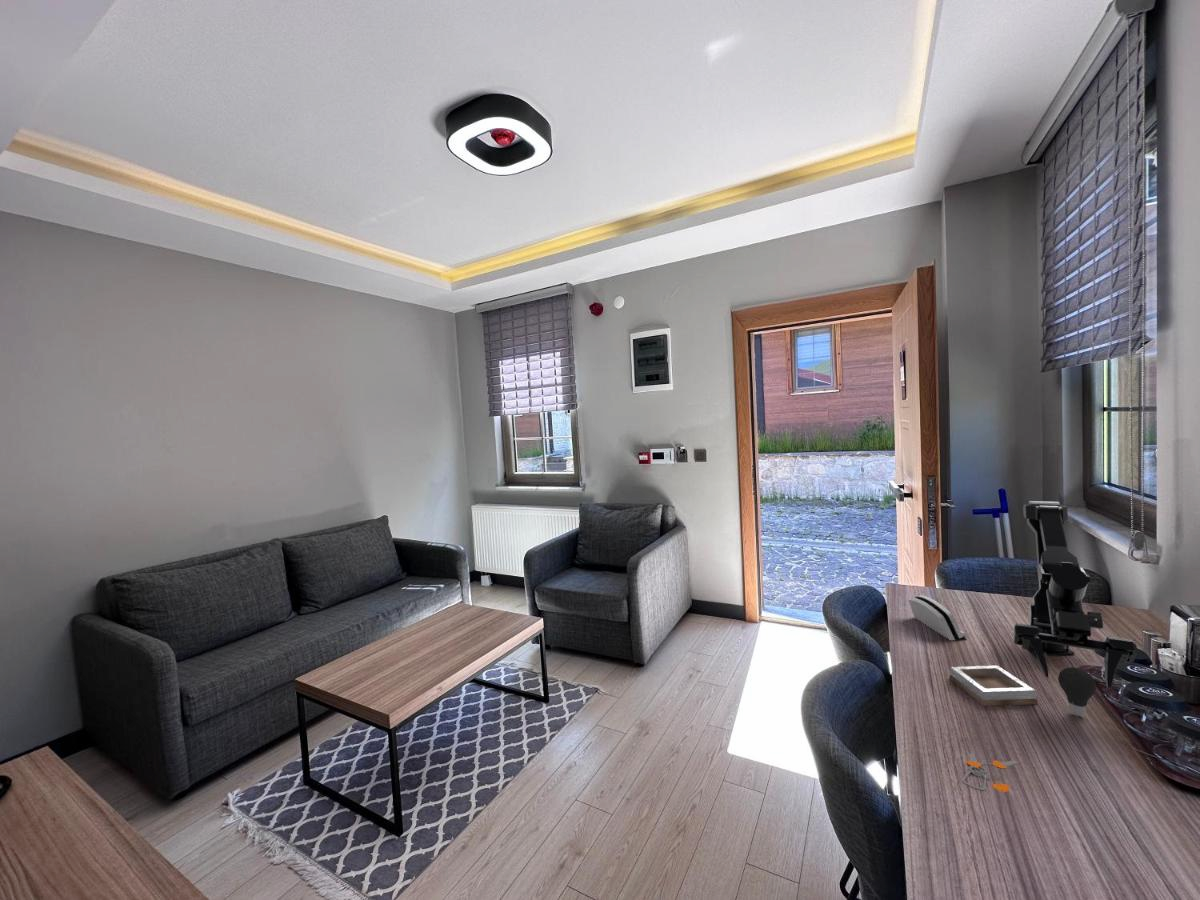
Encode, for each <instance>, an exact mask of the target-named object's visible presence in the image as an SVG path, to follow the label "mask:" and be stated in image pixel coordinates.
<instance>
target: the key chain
mask: <svg viewBox="0 0 1200 900" xmlns="http://www.w3.org/2000/svg"><path fill="white" fill-rule="evenodd" d="M967 757H968V758H969V759H968V760H966V764H967V765H968V766H969V767H968V771H967V773H965V775H964V776H963V777H962V778H961V782H962V783H963V784H965V785H967V786H968V787H971V788H974V789H976V790H980V791H984V792H985V791H986V790H987V788H986V784H987V779H988V781H991V778H990V777H988V776H987V775H986V773H987V772H988V771H987V769H986V768H985V767H983V766H985V765H991V766H994V767H996V768H998V767H999V769H1001V768H1002V769H1003V768H1004V769H1003V770H1005V768H1006V769H1007V768H1008V767H1009V766H1011V767H1012V766H1015V765H1018V764H1019V762H1018V761H1017V760H1009V761H999V760H994V759H993V761H992V763H991V762H985V763H984V762H983V763H980V762H978V761H977V760H976V756H975V753H973V752H969V755H968V756H967ZM981 768H982V769H981ZM971 774H973V775H974V776H976V777H979V778H982V779H983V778H984V779H983V780H984V781H983V787H978V786H975V785H972V784H970V783H968V782H966V779H967V778H968V777H969V776H970V775H971ZM993 783H994V782H993ZM993 783H992V784H993ZM992 784H991V785H992ZM991 785H990V786H991ZM999 785H1001V786H999ZM1007 785H1008V784H1006V783H1005V784H1002V783H1000V784H998V785H997V783H996V784H994V785H993V787H992V788H993V789H995V790H997V791H999V792H1002V793H1003V792H1005V793H1006V792H1010V791H1011V788H1010V787H1009V785H1008V786H1007Z"/></svg>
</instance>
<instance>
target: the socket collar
mask: <svg viewBox="0 0 1200 900" xmlns="http://www.w3.org/2000/svg"><path fill="white" fill-rule="evenodd" d="M950 675H951V676H953V677H954V678H955V679H956V680H958V681H959V682H960V683H962V684H963V685H964V686H965V687H967V688H968V689H969V690H971V691H972V692H973V693H974V694H976V695H977V696H978V697H980V698H981V699H982V700H983V701H989V700H1022V699H1035V698H1036V689H1034V688H1032V687H1031V686H1030V685H1028V684H1027V683H1025V682H1024V681H1022V680H1021V679H1019V678H1017V677H1016V676H1015V675H1013V674H1011V673H1010V672H1008V671H1006V670H1005V669H1003V668H1002V667H1001V666H999V665H975V666H974V665H973V666H970V665H967V666H950ZM991 676H996V677H998V678H999V679H1001V680H1002V681H1004V682H1005V683H1007V684H1008V685H1010V686H1011V687H1012V688H990V689H985V688H984V687H982V686H981V685H979V684H978V683H977V682H975V681H974V680H973V679H971V678H970V677H991Z"/></svg>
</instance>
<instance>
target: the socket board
mask: <svg viewBox="0 0 1200 900" xmlns="http://www.w3.org/2000/svg"><path fill="white" fill-rule="evenodd" d="M970 678H971V679H973V680H974V681H975V682H977V683H978V684H979V685H981V686H982V687H984V688H985V689H990V688H1012V687H1011V686H1010V685H1008V684H1007V683H1005V682H1004V681H1002V680H1001V679H999V678H998V677H996V676H991V677H970ZM949 680H951V681H952V682H953V683H954V684H955V685H957V686H958V687H959V688H960V689H962V690H963V691H964V692H966V693H967V694H968V695H969V696H971V697H972V698H973V699H974V700H976V701H977V702H978V703H979V704H980V705H982V706H985V707H987V706H1015V705H1019V706H1020V705H1021V706H1022V705H1037V704H1038V699H1037V698H1036V697H1035V699H1022V700H989V701H983V700H982V699H981V698H980V697H978V696H977V695H976V694H974V693H973V692H972V691H971V690H969V689H968V688H967V687H965V686H964V685H963V684H962V683H960V682H959V681H958V680H956V679H955V678H954V677H953V676H951V674H949Z"/></svg>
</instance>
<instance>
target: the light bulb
mask: <svg viewBox="0 0 1200 900" xmlns="http://www.w3.org/2000/svg"><path fill="white" fill-rule="evenodd" d="M1057 679H1058V684H1059V686H1060V687H1061V689H1062V690H1063V692H1064V693H1065V695H1066V699H1067V702H1068V710H1069V713H1072V714H1073V715H1074V716H1075V717H1077V718H1080V717H1083V716H1085V715H1086V714H1087V713H1086V712H1087V710H1086V707H1087V705H1088V703H1089V702H1088V701H1089V700H1090V699H1091V698H1092V697H1093V696H1094V695H1095V693H1096V690H1097V685H1096V681H1095V680H1094V678H1093V676H1091V675H1090V674H1089V673H1088V672H1087V671H1085V670H1084V669H1081V668H1078V667H1073V666H1072V667H1071V666H1070V667H1066V668H1065V667H1064V668H1063V669H1062V670H1060V671H1059V673H1058V676H1057Z"/></svg>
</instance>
